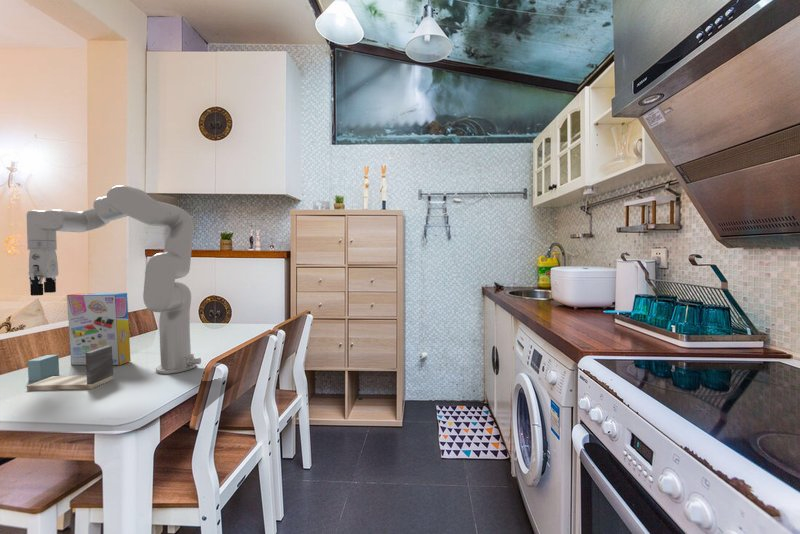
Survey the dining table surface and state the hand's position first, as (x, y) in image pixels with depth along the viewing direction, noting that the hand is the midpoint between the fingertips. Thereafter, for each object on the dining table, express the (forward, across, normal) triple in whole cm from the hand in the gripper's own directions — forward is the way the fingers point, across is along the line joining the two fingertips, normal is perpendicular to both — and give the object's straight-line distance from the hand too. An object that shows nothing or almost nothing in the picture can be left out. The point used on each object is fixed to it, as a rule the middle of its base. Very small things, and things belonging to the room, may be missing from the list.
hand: (43, 293), depth 134 cm
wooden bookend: (+28, -20, -14) cm, 37 cm away
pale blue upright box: (+28, -7, -2) cm, 29 cm away
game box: (+28, +6, -14) cm, 32 cm away
